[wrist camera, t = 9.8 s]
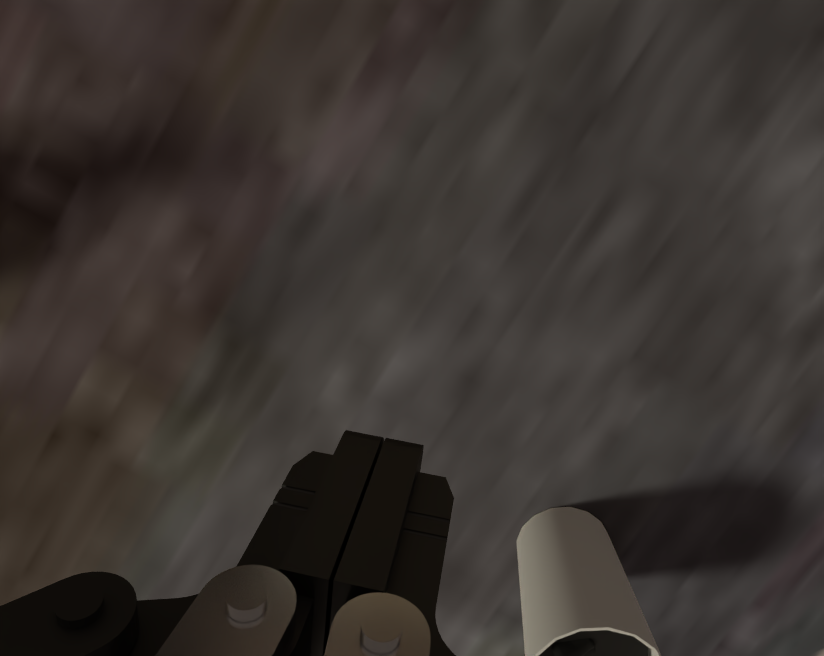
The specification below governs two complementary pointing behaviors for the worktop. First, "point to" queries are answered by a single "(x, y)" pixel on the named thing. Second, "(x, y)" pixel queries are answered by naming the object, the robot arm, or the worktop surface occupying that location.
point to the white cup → (577, 590)
